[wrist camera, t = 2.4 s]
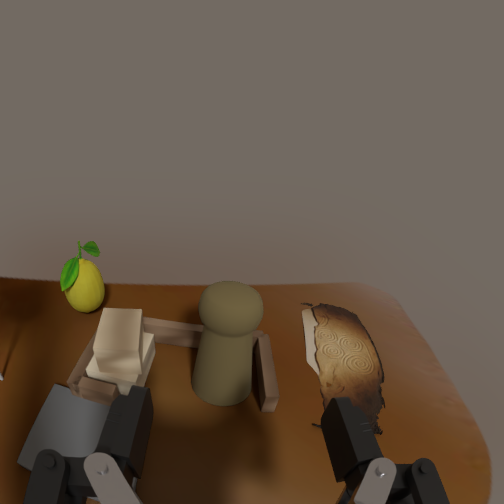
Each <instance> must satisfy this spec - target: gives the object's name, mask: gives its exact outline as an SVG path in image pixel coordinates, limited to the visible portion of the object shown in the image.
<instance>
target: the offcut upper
mask: <svg viewBox="0 0 504 504" xmlns="http://www.w3.org/2000/svg"><path fill="white" fill-rule="evenodd" d="M143 340H144V328H143V317H142V309H117V308H104V309H103V312H102V316H101V319H100V323H99V326H98V330H97V334H96V337H95V341H94V345H93V351H94V354H95V358H96V361H97V365H98V368H99V372H102V373H117V374H142V362H143Z"/></svg>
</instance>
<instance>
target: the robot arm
mask: <svg viewBox="0 0 504 504" xmlns="http://www.w3.org/2000/svg"><path fill="white" fill-rule="evenodd" d="M152 420H153V404H152V399H151V394H150V389H149V388H146V387H141V386H136V385H132V386H131V388H130V391H129V394H128V396H127V395H123V394H120V395H119V396H118V397H117V398H116V399H115V400H114V401H113V402H112V404H111V407H110V410H109V413H108V415H107V418H106V421H105V424H104V426H103V429H102V432H101V435H100V438H99V441H98V444H97V447H96V449H95V451H94V452H93V453H92V454H90V455H88V456H86V457H66V456H62V455H61V454H60V453H59V452H57V451H55V450H53V449H44V450H42V451H40V452H39V453H38V454H37V456H36V459H35V462H34V465H33V469H32V472H31V475H30V479H29V482H28V486H27V490H26V494H25V498H24V502H23V504H86V499H87V497H98V499H99V501H100V503H101V504H143V502H142V501H141V499H140V498H139V496H138V495H137V493H136V492H135V490H134V489H133V487H132V483H133V478H134V477H135V478H139V479H141V474H142V468H143V463H144V458H145V453H146V448H147V443H148V438H149V434H150V429H151V425H152ZM321 428H322V432H323V435H324V439H325V442H326V446H327V449H328V453H329V457H330V460H331V464H332V467H333V471H334V475H335V478H336V482H342V481H345V483H346V486H345V487H344V489H343V491H342V493H341V495H340V496H339V498H338V500H337V502H336V504H450V503H449V500H448V498H447V495H446V492H445V490H444V487H443V485H442V482H441V479H440V477H439V474H438V472H437V470H436V467H435V465H434V463H433V462H432V461H431V460H429V459H426V458H420V459H418V460H416V461H415V462H414V463H413V464H394V463H393V462H392V461H391V460H389V459H387V458H384V456H383V455H382V453H381V450H380V448H379V445H378V443H377V441H376V438H375V436H374V433H373V431H372V430H371V426H370V424H369V422H368V419H367V417H366V415H365V413H364V412H363V411H362V410H361V409H360V408H359V407H358V406H354V407H353V405H352V402H351V400H350V398H349V397H336V398H332V399H331V400H330V402H329V404H328V406H327V407H326V409H325V411H324V413H323V415H322V417H321Z"/></svg>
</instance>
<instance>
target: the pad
mask: <svg viewBox="0 0 504 504" xmlns="http://www.w3.org/2000/svg"><path fill="white" fill-rule="evenodd" d="M110 407H111V406H107V405H103V404H100V403H96V402H93V401H90V400H87V399H83V398H80V397H77V396H74V395H72V393H71V390H70V389H69V388H66V387H63V386H60V385H58V384H54V386H53V388H52V390H51V391H50V393H49V395H48V397H47V399H46V401H45V403H44V405H43V406H42V408H41V410H40V412H39V414H38V416H37V418H36V420H35V422H34V424H33V426H32V429H31V431H30V433H29V435H28V437H27V439H26V442H25V444H24V446H23V448H22V451H21V453H20V455H19V458H18V460H17V463H18V464H20V465H21V466H23V467H24V468H26V469H28V470H30V471H31V472H32V469H33V465H34V462H35V459H36V456H37V454H38V453H39V452H40V451H42V450H44V449H53V450H55V451H57V452H59V453H60V454H61V455H62V456H66V457H86V456H88V455H90V454H92V453H93V452H94V451H95V449H96V447H97V444H98V441H99V438H100V435H101V432H102V429H103V426H104V424H105V421H106V418H107V415H108V413H109V410H110ZM136 483H137V478H135V477H134V478H133V483H132V487H133V489H134V490H135V489H136ZM88 498H91V499H94V500H96V501H99V499H98V497H88ZM99 502H100V501H99Z"/></svg>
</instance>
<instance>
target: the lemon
mask: <svg viewBox="0 0 504 504" xmlns="http://www.w3.org/2000/svg"><path fill="white" fill-rule="evenodd" d="M78 247H79V253H78V255H80V258H77V257H78V255H77V257H75V258H73V259H70V260H69V261H67V263H66V264H65V266H64V268H63V270H62V273H61V279H60V283H61V288H62V291H64V290H65V295H66V298H67V300H68V302H69V303H70V305H71V306H72V307H73V308H74V309H76V310H77V311H80V312H86V313H89V312H91V311H94V310H95V309H97V308H98V307H99V306H100V305H101V303H102V301H103V299H104V294H105V288H104V283H103V279H102V276H101V273H100V271H99V269H98V268H97V267H96V266H95V265H94V264H93V263H92V262H91V261H89V260H86V259H83V258H81V249H80V248H82V249H84V250H85V251H86V252H87V253H89V254H91V255H93V256H96V257H98V256H99V254H100V251H99V249H98V247H97V245H96V243H95V242H94V241H90V242H88V243H86V244H85V245H84V247H81V246H80V241H78Z"/></svg>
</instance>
